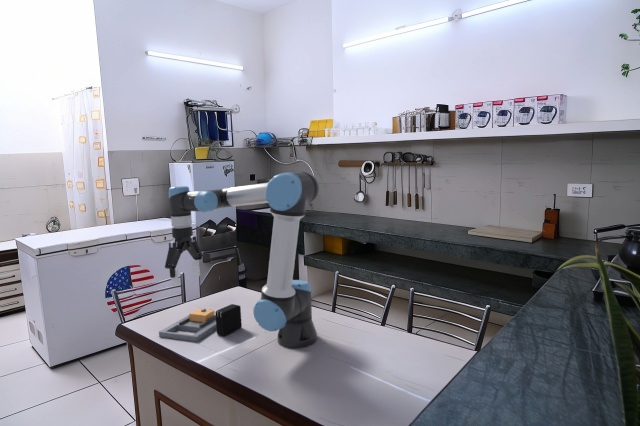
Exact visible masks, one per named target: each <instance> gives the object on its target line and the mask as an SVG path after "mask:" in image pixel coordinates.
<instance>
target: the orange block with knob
mask: <svg viewBox="0 0 640 426" xmlns="http://www.w3.org/2000/svg"><path fill="white" fill-rule="evenodd" d="M188 315H189V316H190V321H198V322H205V321H206V320H208V319H210V318H211V317H213V316H214V315H216V313H215V310H214V309H208V308H207V309H206V308H197V309H196V310H194V311H192V312H190V313H189V314H188Z"/></svg>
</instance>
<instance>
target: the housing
mask: <svg viewBox="0 0 640 426" xmlns="http://www.w3.org/2000/svg"><path fill="white" fill-rule="evenodd" d="M215 330H217V328H216V314H215V315H214V316H213V317H211V318H210V319H208V320H206V321H205V322H198V321H190V316H189V314H188V315H186V316H184V317H183V318H181V319H179V320H177V321H176V322H174V323H172V324H170V325H168V326H166V327H165V328H162V329H161V330H159V331H158V337H161V338H168V339H173V340H181V341H187V342H197V343H198V342H199V341H201V340H202V339H203V338H205V337H207V336H208V335H209V334H210V333H212V332H213V331H215ZM176 331H185V332H186V331H187V332H193V333H194V334H187V333H180V332H176Z"/></svg>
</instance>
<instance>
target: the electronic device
mask: <svg viewBox="0 0 640 426" xmlns="http://www.w3.org/2000/svg"><path fill="white" fill-rule="evenodd" d="M215 315H216V328H217V329H216V335H219V336H222V337H227V336H228V335H231V334H233V333H234V332H236V331H238V330H240V329H242V311H241V305H238V304H234V303H231V304H229V305H227V306H223V307H222V308H219V309H217V310H216V311H215Z"/></svg>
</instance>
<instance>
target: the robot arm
mask: <svg viewBox="0 0 640 426" xmlns="http://www.w3.org/2000/svg"><path fill="white" fill-rule="evenodd" d="M319 194H320V184H319V181H318V180H317V178H316V177H315V176H314V175H313V174H312V173H309V172H307V171H296V172H295V171H294V172H293V171H292V172H291V171H289V172H287V171H285V172H281V173H279V174H276V175H274V176H273V177H272V178H271V179H269V181H268V182H264V183H263V182H261V183H256V184H247V185H241V186H235V187H225V188H219V189H211V190H201V191H199V190H196V191H190V187H189V186H187V185H186V186H185V185H184V186H172V187H169V189H168V200H169V201H168V203H169V212H170V221H171V222H170V223H171V227H172V228H171V236H172V238H173V239H174V241H169V242H168V250H167V255H166V259H165V265H164V268H165V269H167V270H169V277H170V283H171V286H173V287H174V286H175V287H178V286H180V284H179V283H180V282H179V272H178V268H177V265H178V263H179V260H180V258H181V255H182V254H183V253H184V252H185V251H187V252H188V254H189V255H190V256H191V257H192V258H193V259H192V260H191V261H192V262H191V263H192V272H193V273H192V274H193V277H200V276H201V266H200V265H201V263H200V261H201V260H203V258H202V257H203V253H202V250H201V248H200V245H199V243H198V240H197V239H198V238H197V236H195V235H193V233H194V232H193V227H192V225H193V220H192V218H193V217H192V212H202V213H206V212H213V211H215V210H217V209H224V208H233V207H241V206H251V205H260V204H268V205H269V213H270V214H271V215H272V216H273V222H272V223H273V225H272V231H271V232H272V234H271V243H270V251H269V261H268V273H267V280H266V284H264V286H262V288H261V295H260V299H259V300H257V302H256V303H255V304H254V306H253V316H254V320H255V321H256V323H257V324H258V326H259V327H260V328H262V329H264V330H265V331H268V332H276V331H278V332H277V337H276V338H277V343H278V345H279V346H281V347H283V348H287V349H303V348H308V347H310V346H312V345H315V343H316V342H317V341H318V332H317V329H316V327H315V324H314V321H313V317H312V316H313V315H312V289H311V284H310V282H308V281H307V280H302V279H294V271H295V261H296V255H297V245H298V236H299V229H300V220H301V219H302V218H304V217H305V216H306V210H307V205H310V204H312V203H313V202H315V200H316V199H317V197H318V196H319Z"/></svg>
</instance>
